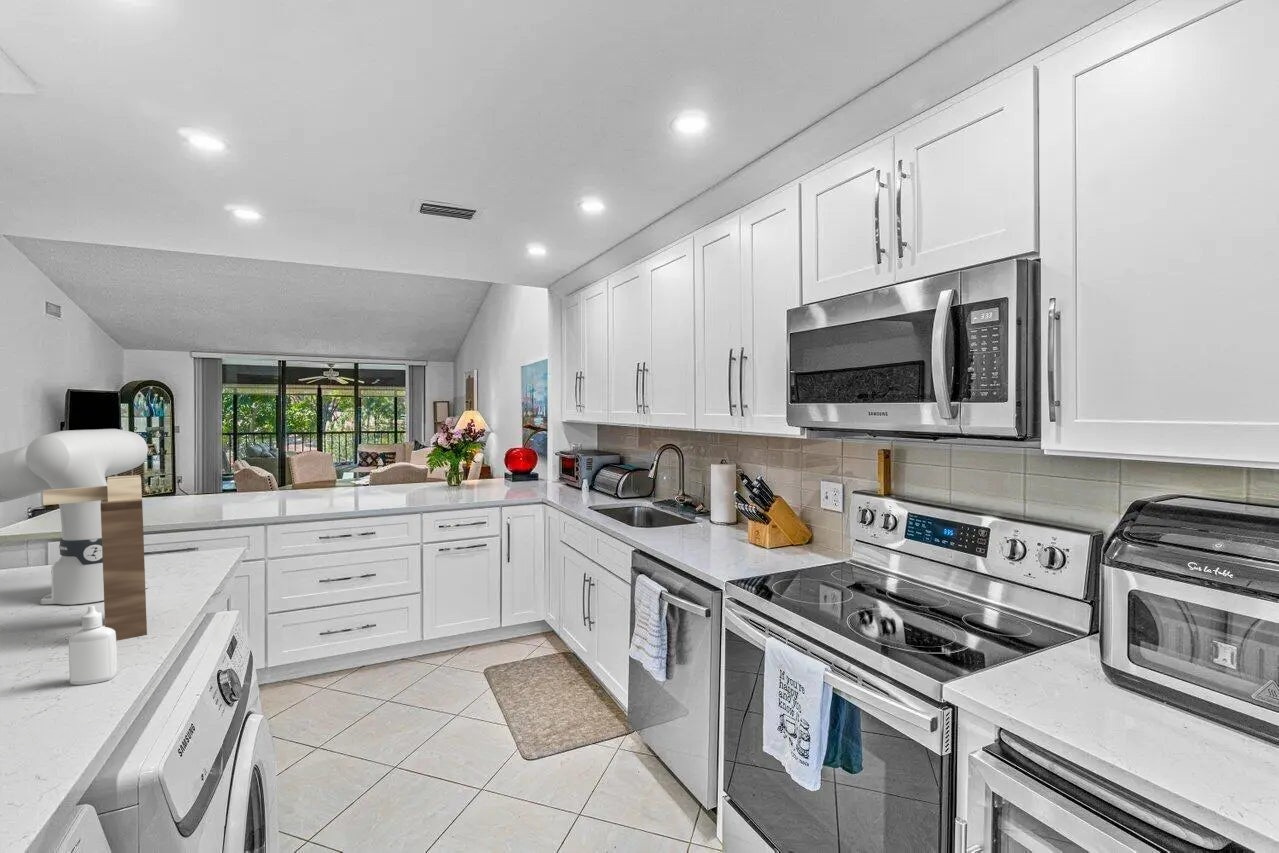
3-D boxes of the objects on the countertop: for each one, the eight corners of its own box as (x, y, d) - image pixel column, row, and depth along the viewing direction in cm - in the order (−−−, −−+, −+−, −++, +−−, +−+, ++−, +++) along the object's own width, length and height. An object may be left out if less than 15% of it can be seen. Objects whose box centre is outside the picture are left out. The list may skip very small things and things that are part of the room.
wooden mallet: (45, 501, 116) (45, 480, 116) (140, 494, 125) (140, 475, 125) (41, 506, 110) (40, 484, 110) (141, 498, 119) (141, 478, 119)
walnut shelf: (106, 622, 124) (102, 496, 124) (144, 616, 128) (140, 493, 127) (105, 642, 114) (100, 503, 113) (146, 634, 118) (142, 500, 117)
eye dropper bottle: (93, 687, 95) (90, 611, 95) (65, 684, 96) (62, 609, 96) (122, 675, 99) (119, 602, 99) (94, 672, 100) (92, 600, 100)
